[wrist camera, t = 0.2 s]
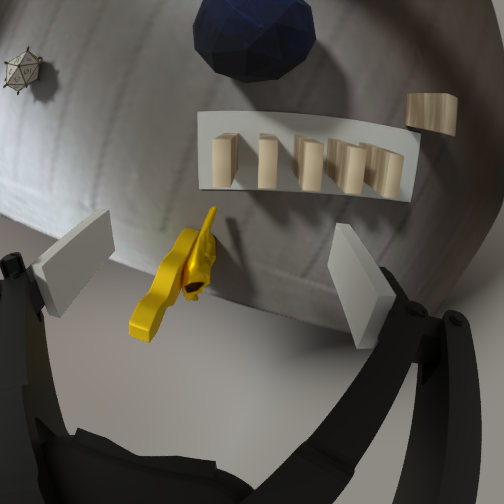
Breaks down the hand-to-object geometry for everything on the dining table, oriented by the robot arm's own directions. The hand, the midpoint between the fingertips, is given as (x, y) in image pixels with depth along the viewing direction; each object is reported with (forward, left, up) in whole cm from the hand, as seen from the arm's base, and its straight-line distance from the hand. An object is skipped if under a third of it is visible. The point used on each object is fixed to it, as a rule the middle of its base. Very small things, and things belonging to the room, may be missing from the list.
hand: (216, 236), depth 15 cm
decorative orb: (-18, +1, -28) cm, 33 cm away
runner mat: (-1, +11, -28) cm, 30 cm away
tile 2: (-1, +3, -27) cm, 28 cm away
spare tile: (-11, +26, -28) cm, 40 cm away
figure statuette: (+15, -8, -28) cm, 33 cm away
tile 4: (-1, +13, -27) cm, 30 cm away
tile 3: (-1, +8, -27) cm, 29 cm away
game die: (-21, -40, -28) cm, 53 cm away
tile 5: (-1, +18, -27) cm, 33 cm away
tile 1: (-1, -2, -27) cm, 27 cm away
